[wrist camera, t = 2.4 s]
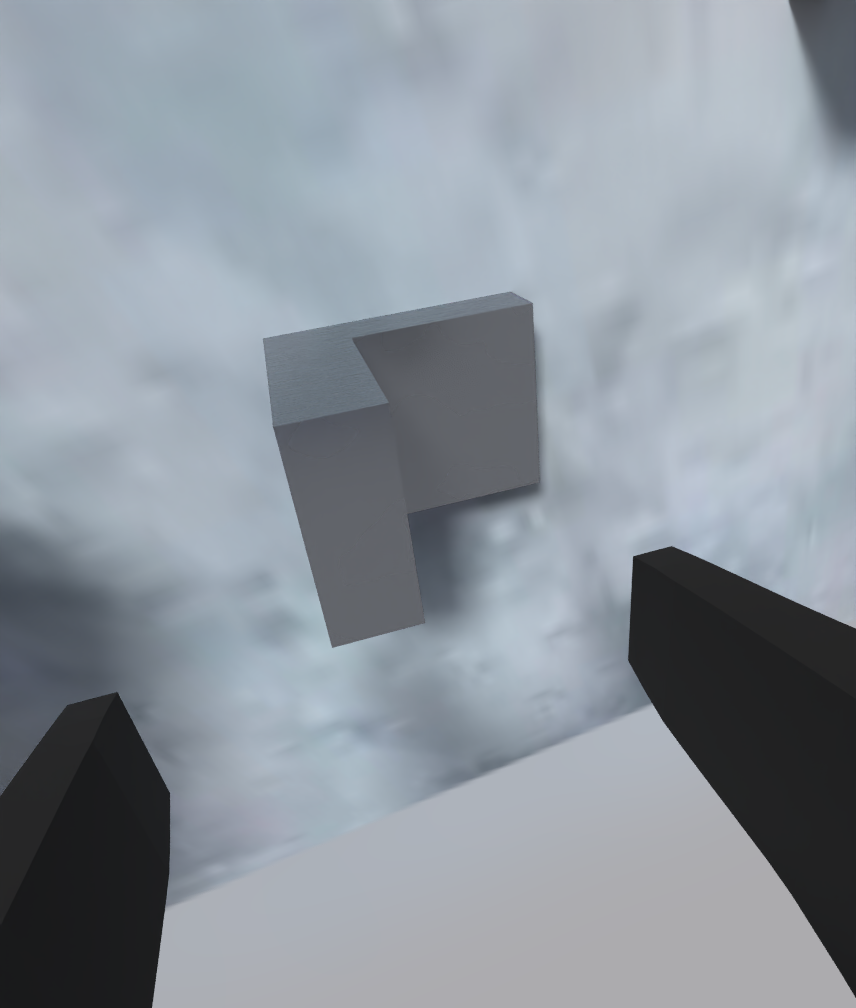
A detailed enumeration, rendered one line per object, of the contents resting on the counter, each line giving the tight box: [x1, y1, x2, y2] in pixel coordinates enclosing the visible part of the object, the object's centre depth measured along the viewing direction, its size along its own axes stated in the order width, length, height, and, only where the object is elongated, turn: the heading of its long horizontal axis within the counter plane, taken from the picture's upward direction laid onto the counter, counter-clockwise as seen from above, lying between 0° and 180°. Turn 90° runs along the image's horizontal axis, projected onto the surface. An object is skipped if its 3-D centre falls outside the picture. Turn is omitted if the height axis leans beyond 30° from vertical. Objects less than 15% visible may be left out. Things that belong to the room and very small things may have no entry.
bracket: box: [263, 292, 540, 648], centre depth 15 cm, size 6×5×6 cm
